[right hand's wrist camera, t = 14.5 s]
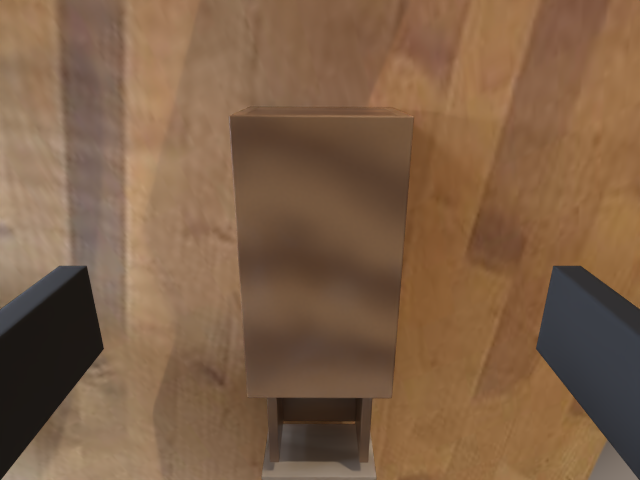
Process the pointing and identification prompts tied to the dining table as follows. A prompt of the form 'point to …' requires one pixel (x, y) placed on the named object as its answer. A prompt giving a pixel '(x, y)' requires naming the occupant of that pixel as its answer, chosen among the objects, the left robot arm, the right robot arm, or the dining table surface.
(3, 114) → the dining table surface
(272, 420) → the drawer
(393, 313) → the cabinet
